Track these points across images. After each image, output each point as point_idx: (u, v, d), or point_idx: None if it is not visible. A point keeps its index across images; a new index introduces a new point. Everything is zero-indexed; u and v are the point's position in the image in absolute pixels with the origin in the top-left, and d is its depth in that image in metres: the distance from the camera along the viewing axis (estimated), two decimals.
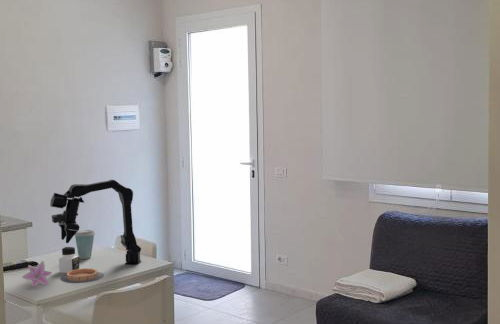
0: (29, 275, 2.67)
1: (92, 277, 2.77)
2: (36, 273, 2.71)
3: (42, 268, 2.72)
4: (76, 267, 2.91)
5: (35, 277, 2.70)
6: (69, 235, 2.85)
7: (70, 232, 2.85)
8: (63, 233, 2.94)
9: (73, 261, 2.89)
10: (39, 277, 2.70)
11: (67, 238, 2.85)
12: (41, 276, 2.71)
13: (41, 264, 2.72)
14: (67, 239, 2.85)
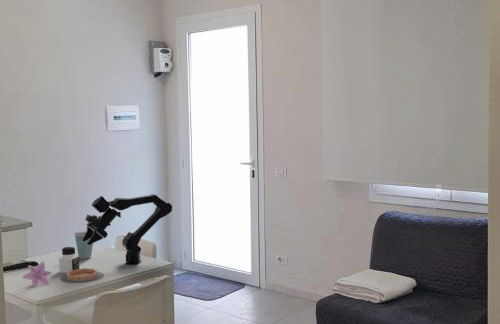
0: (29, 275, 2.67)
1: (92, 277, 2.77)
2: (36, 273, 2.71)
3: (42, 268, 2.72)
4: (76, 267, 2.91)
5: (35, 277, 2.70)
6: (94, 238, 2.91)
7: (96, 236, 2.91)
8: (86, 236, 3.00)
9: (73, 261, 2.89)
10: (39, 277, 2.70)
11: (90, 240, 2.91)
12: (41, 276, 2.71)
13: (41, 264, 2.72)
14: (90, 241, 2.91)
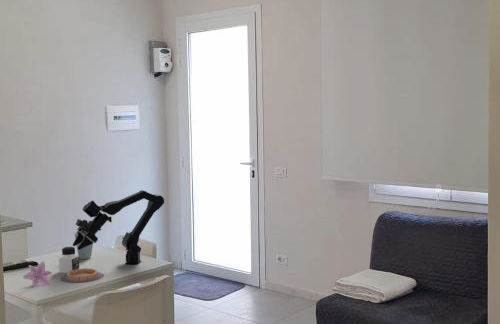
0: (29, 275, 2.67)
1: (92, 277, 2.77)
2: (36, 273, 2.71)
3: (42, 268, 2.71)
4: (76, 267, 2.91)
5: (35, 277, 2.70)
6: (84, 243, 2.89)
7: (86, 241, 2.89)
8: (77, 240, 2.97)
9: (73, 261, 2.89)
10: (39, 277, 2.70)
11: (81, 245, 2.88)
12: (41, 276, 2.71)
13: (42, 264, 2.72)
14: (80, 246, 2.88)
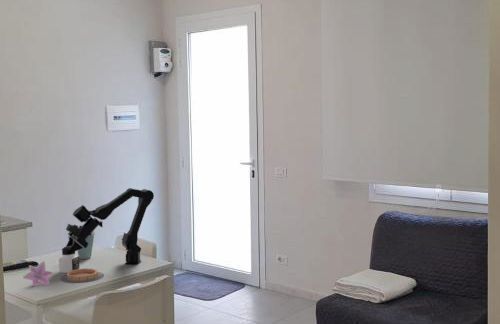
0: (29, 275, 2.67)
1: (92, 277, 2.77)
2: (37, 273, 2.70)
3: (43, 268, 2.71)
4: (76, 267, 2.91)
5: (36, 277, 2.70)
6: (73, 248, 2.88)
7: (76, 246, 2.88)
8: None
9: (73, 261, 2.88)
10: (40, 277, 2.70)
11: (70, 250, 2.87)
12: (41, 276, 2.71)
13: (42, 264, 2.72)
14: (70, 250, 2.87)
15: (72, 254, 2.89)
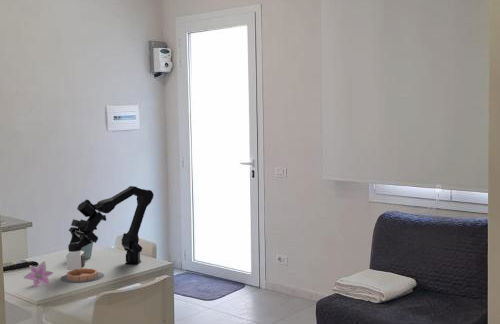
0: (30, 276, 2.67)
1: (92, 277, 2.77)
2: (37, 273, 2.70)
3: (43, 268, 2.71)
4: (83, 263, 2.85)
5: (36, 277, 2.69)
6: (82, 243, 2.82)
7: (84, 241, 2.82)
8: (72, 242, 2.86)
9: (81, 257, 2.82)
10: (40, 277, 2.70)
11: (79, 245, 2.81)
12: (42, 276, 2.70)
13: (42, 264, 2.72)
14: (78, 246, 2.81)
15: (80, 250, 2.83)
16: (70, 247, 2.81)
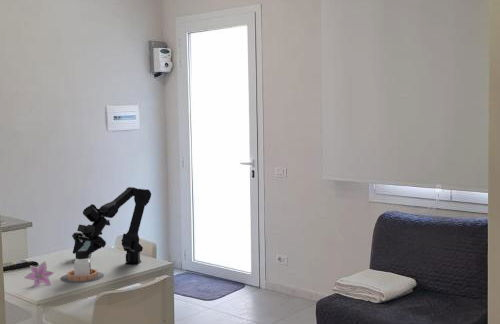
0: (31, 276, 2.67)
1: (92, 277, 2.77)
2: (38, 273, 2.70)
3: (44, 268, 2.71)
4: (90, 271, 2.82)
5: (37, 277, 2.69)
6: (91, 249, 2.78)
7: (93, 246, 2.79)
8: (76, 247, 2.83)
9: (90, 265, 2.79)
10: (41, 277, 2.70)
11: (88, 251, 2.77)
12: (43, 276, 2.70)
13: (43, 264, 2.72)
14: (88, 252, 2.77)
15: (88, 258, 2.80)
16: (78, 255, 2.78)
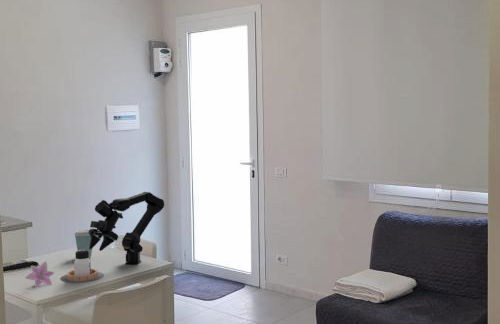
0: (32, 276, 2.66)
1: (92, 277, 2.77)
2: (39, 273, 2.70)
3: (45, 268, 2.71)
4: (90, 271, 2.82)
5: (38, 277, 2.69)
6: (105, 243, 2.86)
7: (107, 240, 2.87)
8: (92, 243, 2.93)
9: (90, 265, 2.79)
10: (42, 277, 2.70)
11: (102, 245, 2.86)
12: (43, 276, 2.70)
13: (44, 265, 2.72)
14: (102, 246, 2.86)
15: (88, 258, 2.80)
16: (78, 255, 2.78)
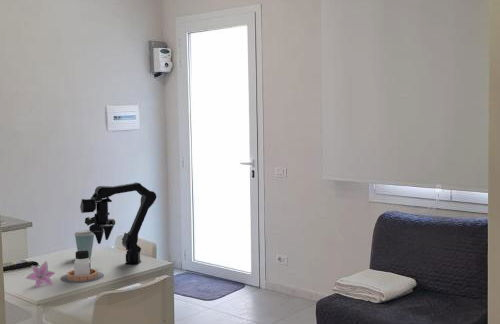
0: (32, 276, 2.66)
1: (92, 277, 2.77)
2: (39, 273, 2.70)
3: (45, 268, 2.71)
4: (90, 271, 2.82)
5: (38, 277, 2.69)
6: (98, 236, 2.93)
7: (98, 233, 2.93)
8: (106, 233, 3.04)
9: (90, 265, 2.79)
10: (42, 277, 2.70)
11: (97, 239, 2.94)
12: (44, 276, 2.70)
13: (44, 265, 2.71)
14: (97, 240, 2.94)
15: (88, 258, 2.80)
16: (78, 255, 2.78)
